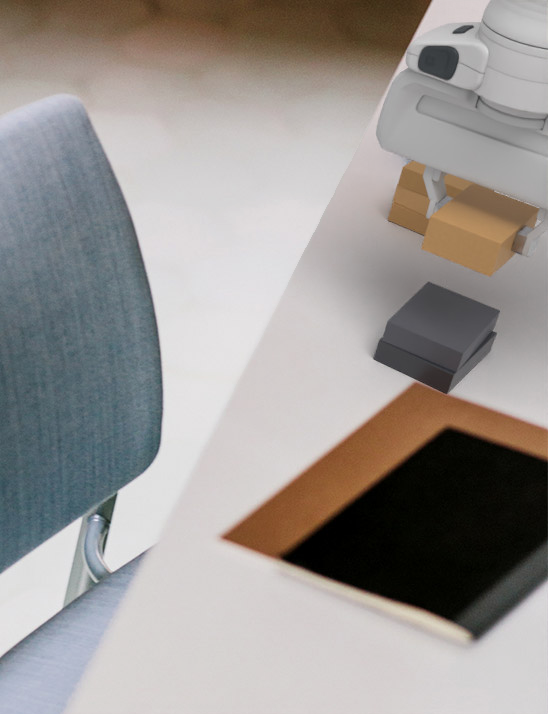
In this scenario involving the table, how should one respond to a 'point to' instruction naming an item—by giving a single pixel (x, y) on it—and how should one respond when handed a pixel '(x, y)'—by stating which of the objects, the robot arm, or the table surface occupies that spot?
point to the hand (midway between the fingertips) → (478, 235)
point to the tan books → (418, 197)
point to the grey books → (438, 337)
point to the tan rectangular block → (478, 229)
